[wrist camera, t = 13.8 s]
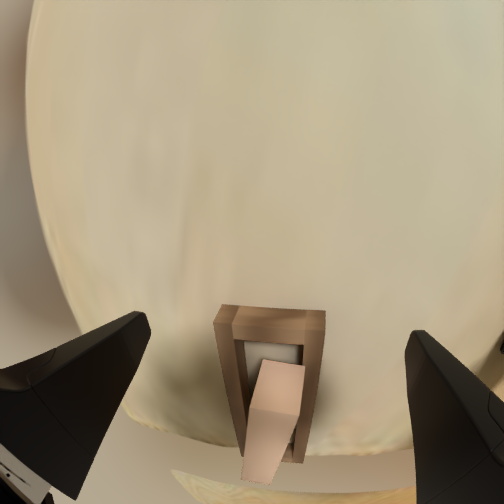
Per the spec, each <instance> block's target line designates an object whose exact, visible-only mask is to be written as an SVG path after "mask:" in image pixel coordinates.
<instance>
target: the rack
mask: <svg viewBox="0 0 504 504" xmlns="http://www.w3.org/2000/svg"><path fill="white" fill-rule="evenodd" d="M213 325H214V330H215V336H216V341H217V347H218V352H219V357H220V362H221V367H222V372H223V377H224V382H225V387H226V391H227V396H228V401H229V405H230V410H231V414H232V419H233V423H234V427H235V431H236V436H237V440H238V444H239V448H240V452H241V456H242V457H244V451H245V442H246V434H247V425H248V417H249V408H250V404H251V401H250V393H249V384H248V376H247V367H246V358H245V350H244V341H243V340H249V341H259V342H271V343H285V344H301V345H304V351H303V365H302V366H305V373H304V382H303V391H302V399H301V406H300V414H299V418H298V420H297V427H296V436H295V444H289V443H288V445H287V448H286V450H285V452H284V455H283V457H282V459H281V461H280V462H291V463H303V461H304V456H305V452H306V447H307V443H308V438H309V433H310V428H311V423H312V417H313V412H314V406H315V400H316V394H317V388H318V382H319V375H320V368H321V361H322V354H323V346H324V338H325V311H320V310H297V309H279V308H263V307H248V306H236V305H223V304H222V306H221V308H220V310H219V312H218V314H217V316H216V318H215V320H214V321H213Z"/></svg>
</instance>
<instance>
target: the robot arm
mask: <svg viewBox="0 0 504 504" xmlns="http://www.w3.org/2000/svg"><path fill="white" fill-rule="evenodd" d="M150 336H151V329H150V326H149V323H148V320H147V317H146V314H145V313H143V312H139V311H133V312H131V313H129V314H127V315H124V316H122V317H120V318H118V319H116V320H114V321H112V322H110V323H107V324H105V325H103V326H101V327H99V328H97V329H95V330H92V331H90V332H88V333H86V334H84V335H82V336H80V337H77V338H75V339H73V340H71V341H69V342H67V343H64V344H62V345H60V346H58V347H57V348H54V349H51V350H49V351H47V352H45V353H43V354H40V355H38V356H35V357H33V358H31V359H28V360H26V361H23V362H20V363H17V364H15V365H12V366H9V367H6V368H3V369H0V504H54V501H53V497H52V494H50V493H49V492H48V491H49V490H50V488H51V486H53V487H55V488H56V489H58V490H59V491H61V492H62V493H64V494H65V495H67V496H68V497H70V498H72V499H73V500H76V499H77V497H78V495H79V493H80V490H81V488H82V486H83V483H84V481H85V479H86V476H87V474H88V472H89V469H90V467H91V465H92V463H93V460H94V457H95V456H96V454H97V451H98V449H99V447H100V445H101V443H102V440H103V438H104V436H105V434H106V432H107V430H108V428H109V426H110V424H111V421H112V419H113V417H114V415H115V413H116V411H117V409H118V407H119V405H120V403H121V401H122V399H123V397H124V395H125V393H126V391H127V389H128V387H129V385H130V383H131V381H132V379H133V377H134V375H135V373H136V371H137V369H138V367H139V364H140V362H141V359H142V357H143V354H144V351H145V349H146V346H147V344H148V341H149V339H150ZM500 351H501V353H502V354H504V343H503V345H502V347H501V349H500ZM405 366H406V381H407V397H408V404H409V411H410V418H411V426H412V434H413V443H414V453H415V469H416V495H417V504H504V402H503V401H502V400H501V399H500V398H499V397H497V396H496V395H495V394H494V393H493V392H492V391H490V389H489V388H488V387H487V386H486V385H485V384H484V383H483V382H482V381H481V380H480V379H479V378H477V377H476V376H475V375H474V374H473V373H472V372H471V371H470V370H469V369H468V368H467V367H466V366H464V365H463V364H462V363H461V362H460V361H459V360H458V359H457V358H456V357H454V356H453V355H452V354H451V353H450V352H449V351H448V350H447V349H445V348H444V347H443V346H442V345H441V344H440V343H439V342H438V341H436V340H435V339H434V338H433V337H432V336H431V335H429V334H428V333H427V332H426V331H425V330H413V331H412V332H411V334H410V337H409V340H408V343H407V346H406V349H405Z"/></svg>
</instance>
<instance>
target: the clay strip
mask: <svg viewBox="0 0 504 504" xmlns="http://www.w3.org/2000/svg"><path fill="white" fill-rule="evenodd" d="M304 373H305V366H301V365H295V364H288V363H282V362H276V361H270V360H265V359H263V361H262V365H261V368H260V372H259V376H258V379H257V383H256V386H255V390H254V394H253V397H252V401H251V404H250V408H249V417H248V425H247V434H246V442H245V451H244V459H243V467H242V475H241V480H246V481H251V482H256V483H262V484H268V485H270V483H271V481H272V479H273V477H274V475H275V472H276V470H277V468H278V466H279V464H280V461H281V459H282V457H283V455H284V452H285V450H286V448H287V445H288V443H289V440H290V438H291V435H292V433H293V430H294V428H295V425H296V423H297V420H298V418H299V414H300V406H301V399H302V391H303V382H304Z"/></svg>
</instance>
